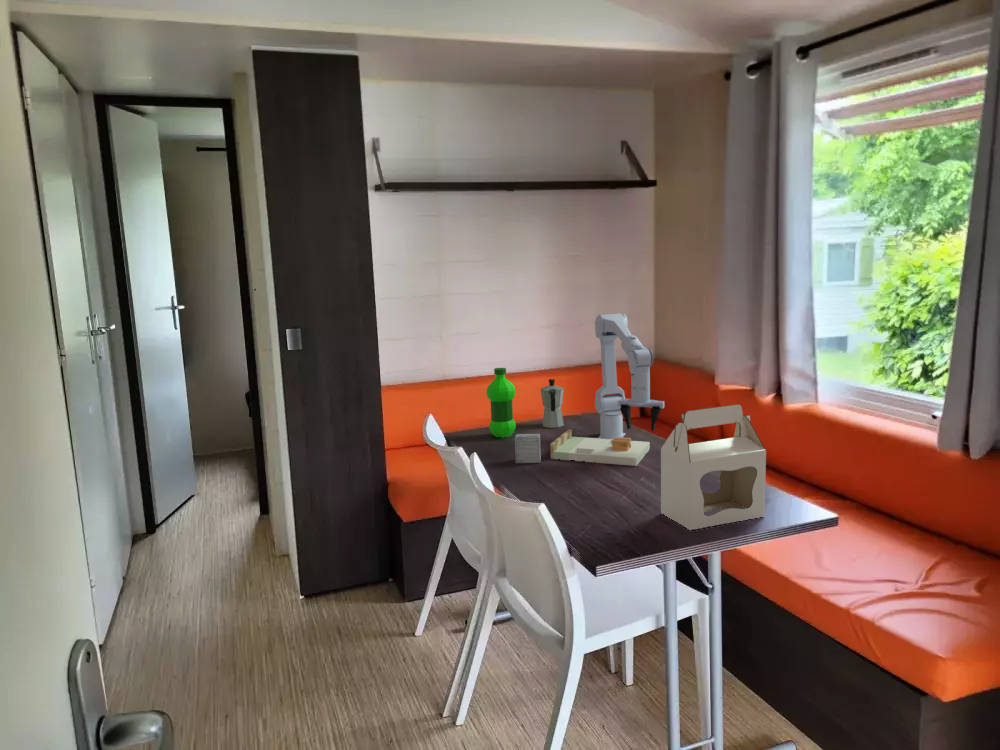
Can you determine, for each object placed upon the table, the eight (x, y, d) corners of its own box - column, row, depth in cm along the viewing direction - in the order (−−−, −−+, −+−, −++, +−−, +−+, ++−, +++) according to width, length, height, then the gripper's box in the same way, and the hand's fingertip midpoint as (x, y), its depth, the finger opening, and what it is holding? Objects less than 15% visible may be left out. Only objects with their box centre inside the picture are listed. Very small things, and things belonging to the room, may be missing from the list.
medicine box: (541, 459, 244) (540, 433, 242) (540, 463, 240) (539, 437, 238) (516, 459, 245) (515, 433, 243) (515, 463, 240) (514, 437, 239)
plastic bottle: (487, 440, 269) (484, 371, 264) (491, 432, 279) (488, 366, 275) (515, 440, 268) (512, 371, 263) (518, 432, 278) (515, 365, 273)
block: (615, 445, 247) (615, 436, 246) (631, 446, 245) (630, 437, 244) (612, 449, 242) (612, 440, 242) (627, 450, 241) (627, 441, 240)
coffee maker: (541, 422, 292) (539, 376, 289) (563, 421, 292) (562, 375, 288) (542, 432, 277) (540, 384, 274) (566, 431, 277) (564, 383, 274)
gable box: (733, 500, 200) (734, 397, 195) (765, 517, 188) (768, 408, 183) (659, 514, 193) (659, 407, 188) (688, 532, 181) (689, 418, 175)
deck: (569, 443, 261) (568, 429, 260) (649, 449, 250) (649, 434, 249) (550, 458, 244) (550, 443, 243) (636, 466, 233) (636, 450, 232)
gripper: (614, 388, 236) (615, 430, 239) (661, 390, 230) (661, 433, 233) (620, 384, 242) (621, 425, 245) (665, 386, 237) (665, 428, 239)
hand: (640, 429), depth 239 cm, fingers open, 7 cm apart
